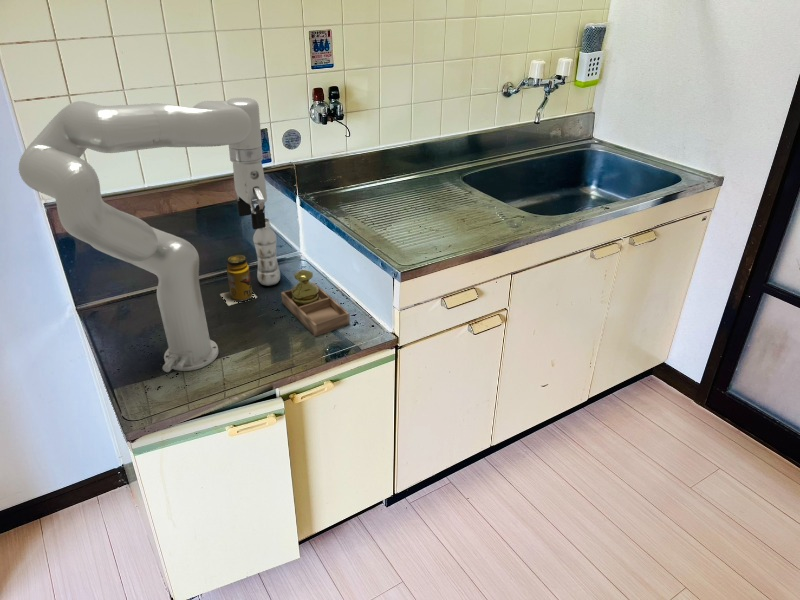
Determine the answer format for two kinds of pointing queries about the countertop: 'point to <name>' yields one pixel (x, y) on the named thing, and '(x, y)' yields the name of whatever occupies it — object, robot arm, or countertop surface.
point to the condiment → (238, 280)
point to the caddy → (318, 313)
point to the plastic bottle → (266, 255)
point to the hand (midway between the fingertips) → (251, 221)
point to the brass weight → (304, 289)
